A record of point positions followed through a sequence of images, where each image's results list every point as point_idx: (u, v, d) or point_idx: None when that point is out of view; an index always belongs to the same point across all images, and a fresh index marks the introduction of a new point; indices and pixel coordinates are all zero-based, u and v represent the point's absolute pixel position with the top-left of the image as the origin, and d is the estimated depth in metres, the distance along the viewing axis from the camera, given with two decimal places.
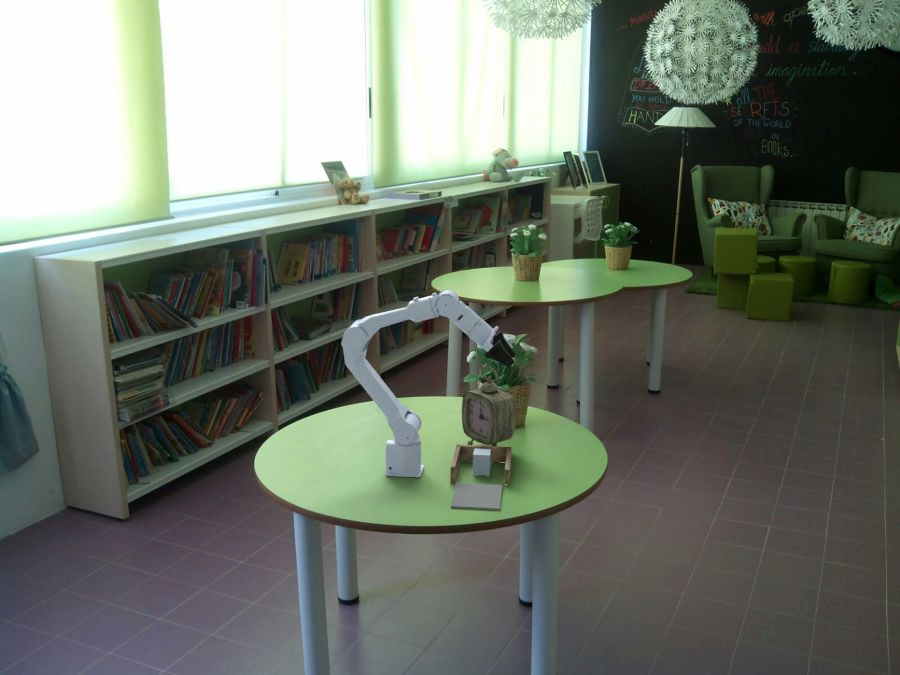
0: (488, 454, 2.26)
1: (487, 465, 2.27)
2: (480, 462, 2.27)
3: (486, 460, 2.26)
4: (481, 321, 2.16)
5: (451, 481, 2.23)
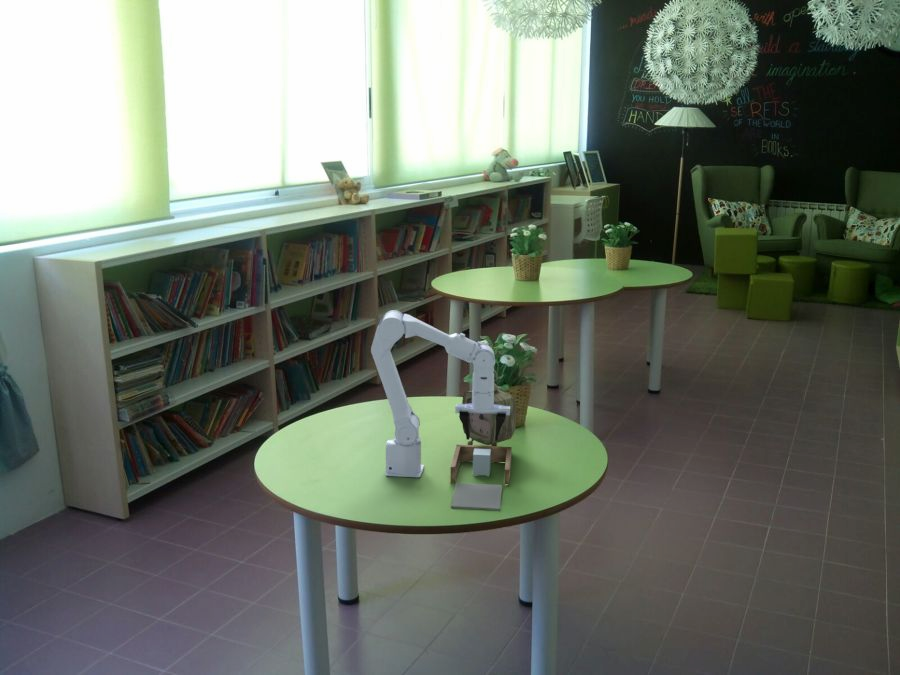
0: (488, 454, 2.26)
1: (487, 465, 2.27)
2: (480, 461, 2.27)
3: (486, 460, 2.26)
4: None
5: (451, 481, 2.23)
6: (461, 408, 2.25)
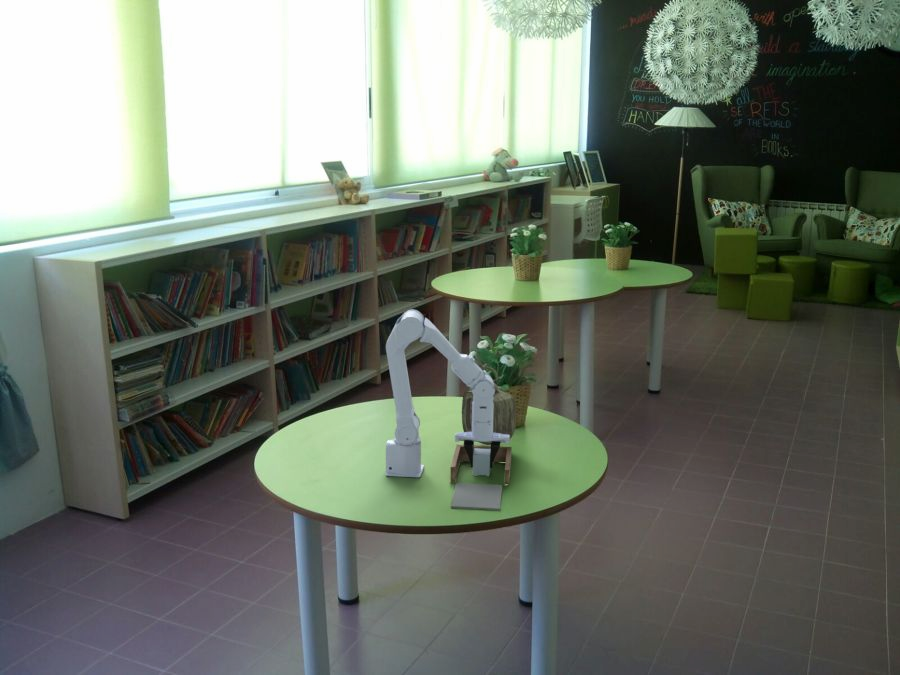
0: (488, 454, 2.26)
1: (487, 465, 2.27)
2: (480, 461, 2.27)
3: (486, 460, 2.26)
4: None
5: (451, 481, 2.23)
6: (461, 436, 2.27)
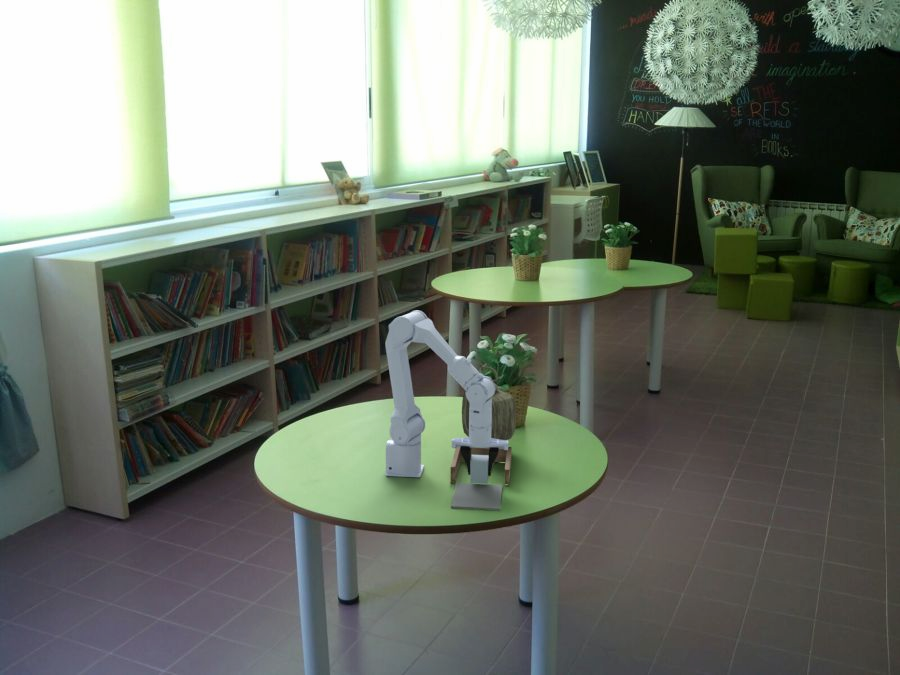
0: (486, 460, 2.17)
1: (485, 472, 2.17)
2: (477, 468, 2.17)
3: (483, 467, 2.17)
4: None
5: (451, 481, 2.23)
6: (457, 443, 2.17)
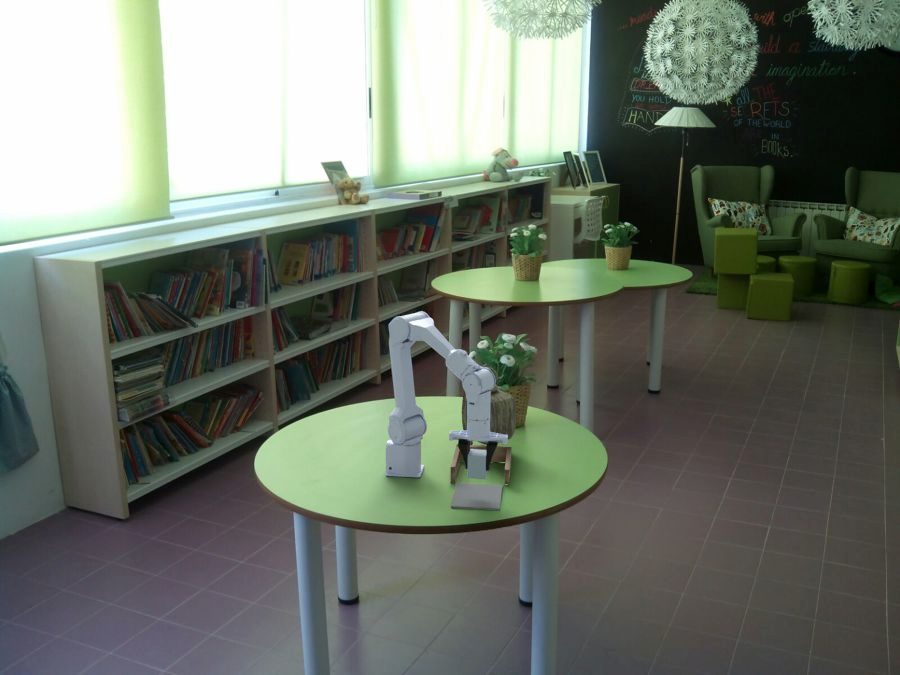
0: (484, 455, 2.10)
1: (483, 467, 2.10)
2: (475, 463, 2.10)
3: (481, 462, 2.09)
4: None
5: (451, 481, 2.23)
6: (455, 435, 2.10)
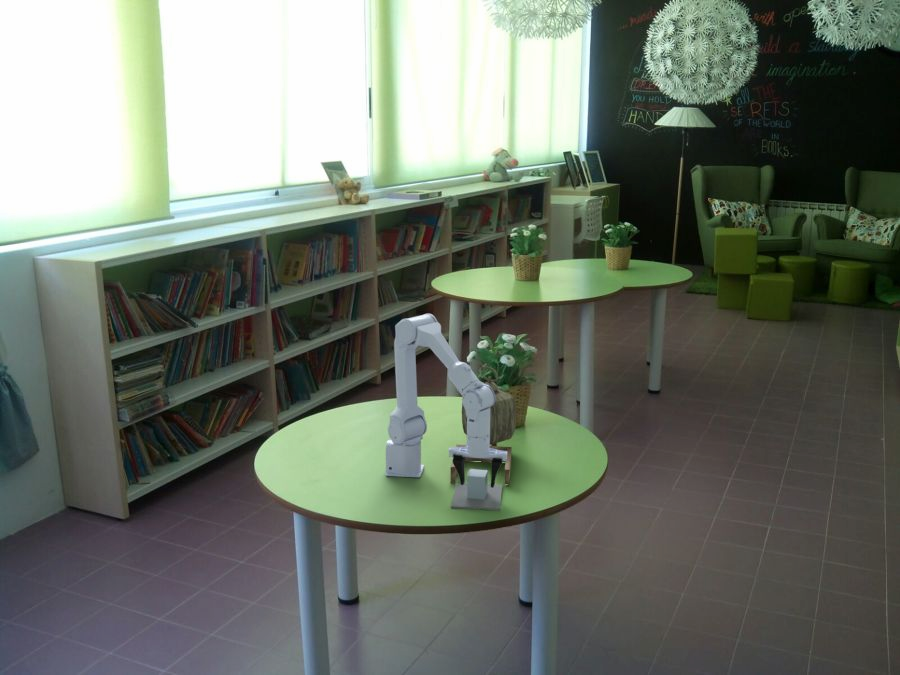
0: (483, 476, 2.11)
1: (482, 488, 2.11)
2: (474, 484, 2.11)
3: (481, 482, 2.11)
4: None
5: (451, 481, 2.23)
6: (455, 452, 2.11)
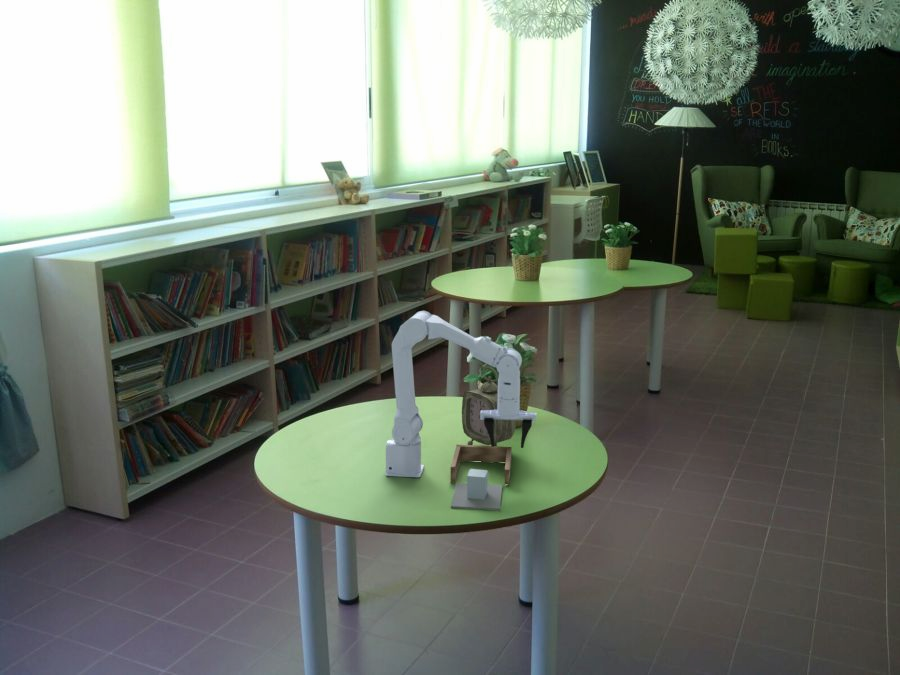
0: (483, 476, 2.11)
1: (482, 488, 2.11)
2: (474, 484, 2.11)
3: (481, 482, 2.11)
4: None
5: (451, 481, 2.23)
6: (486, 414, 2.19)
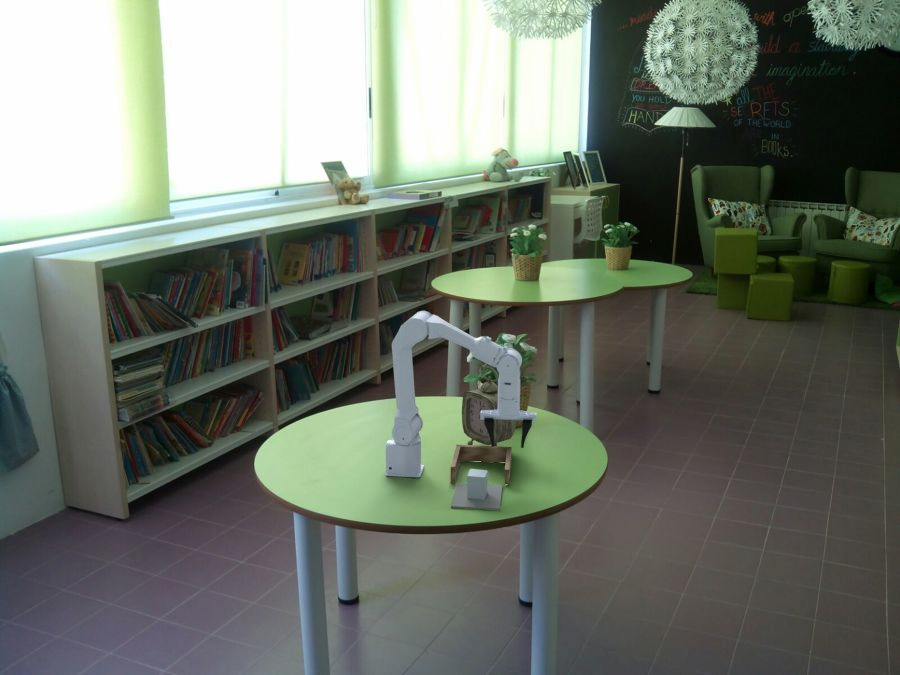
0: (483, 476, 2.11)
1: (482, 488, 2.11)
2: (474, 484, 2.11)
3: (481, 482, 2.11)
4: None
5: (451, 481, 2.23)
6: (486, 414, 2.19)
